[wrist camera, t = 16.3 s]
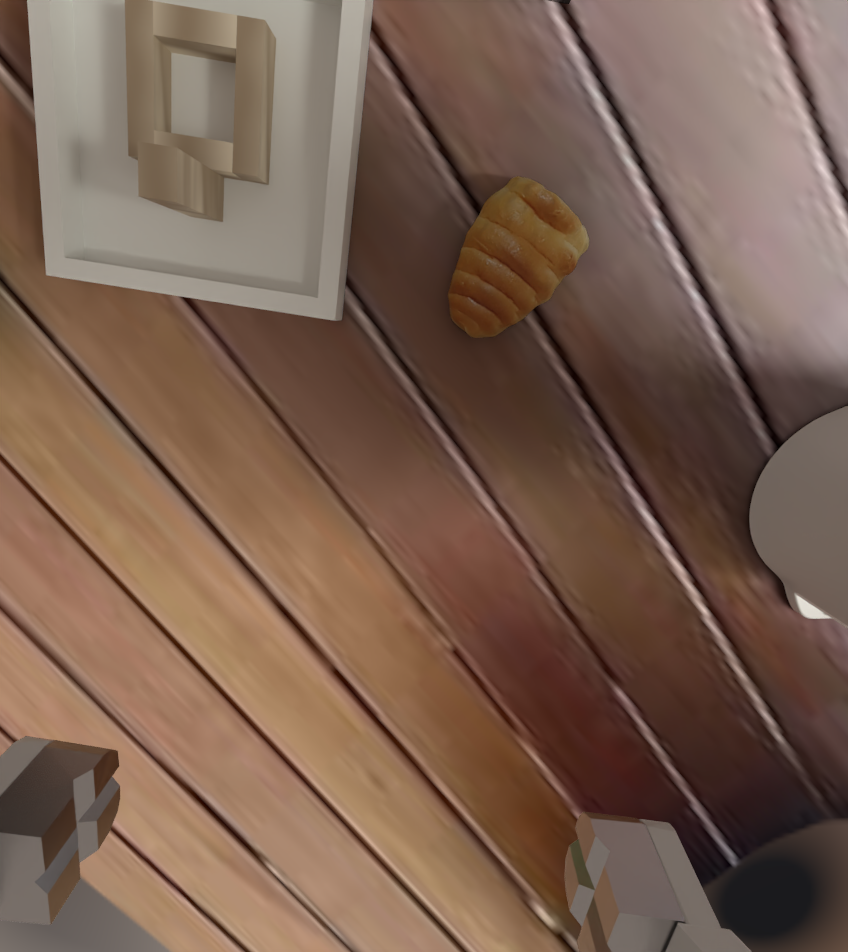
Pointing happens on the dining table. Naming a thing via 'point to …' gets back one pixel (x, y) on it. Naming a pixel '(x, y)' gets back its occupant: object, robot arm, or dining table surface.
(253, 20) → the ring
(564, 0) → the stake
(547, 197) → the pastry
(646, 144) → the dining table surface
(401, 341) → the dining table surface
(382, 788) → the dining table surface
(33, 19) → the tray
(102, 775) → the robot arm
